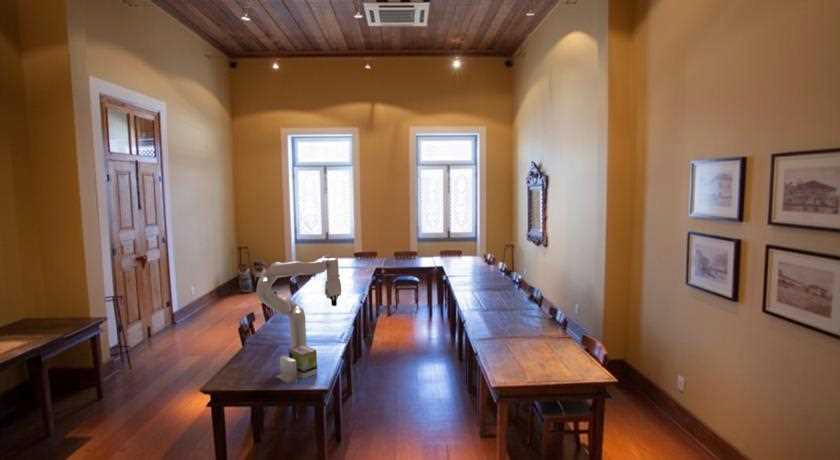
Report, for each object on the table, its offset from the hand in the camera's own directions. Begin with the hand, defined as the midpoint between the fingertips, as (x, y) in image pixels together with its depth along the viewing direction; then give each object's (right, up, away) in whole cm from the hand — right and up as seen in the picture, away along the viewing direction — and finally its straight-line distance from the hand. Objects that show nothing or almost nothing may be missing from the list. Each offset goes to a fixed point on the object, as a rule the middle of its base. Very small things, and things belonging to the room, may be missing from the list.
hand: (334, 305), depth 296 cm
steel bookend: (-21, -37, -34) cm, 54 cm away
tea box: (-13, -36, -25) cm, 46 cm away
